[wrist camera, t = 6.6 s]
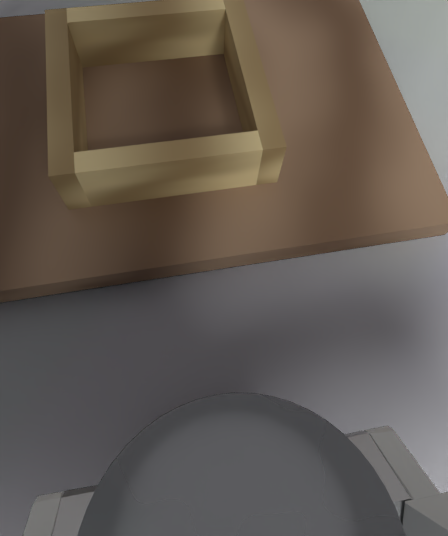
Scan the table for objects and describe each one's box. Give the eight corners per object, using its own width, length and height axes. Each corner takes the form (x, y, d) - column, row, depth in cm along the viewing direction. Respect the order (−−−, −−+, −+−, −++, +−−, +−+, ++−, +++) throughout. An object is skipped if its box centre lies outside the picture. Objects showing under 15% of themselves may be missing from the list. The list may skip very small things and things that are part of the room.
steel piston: (162, 585, 11) (75, 877, 4) (147, 430, 13) (62, 423, 5) (303, 553, 12) (471, 758, 4) (271, 407, 13) (355, 369, 6)
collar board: (-108, 319, 14) (-188, 288, 11) (-72, 45, 18) (-122, -24, 16) (444, 234, 16) (495, 191, 13) (346, 8, 21) (368, -59, 18)
